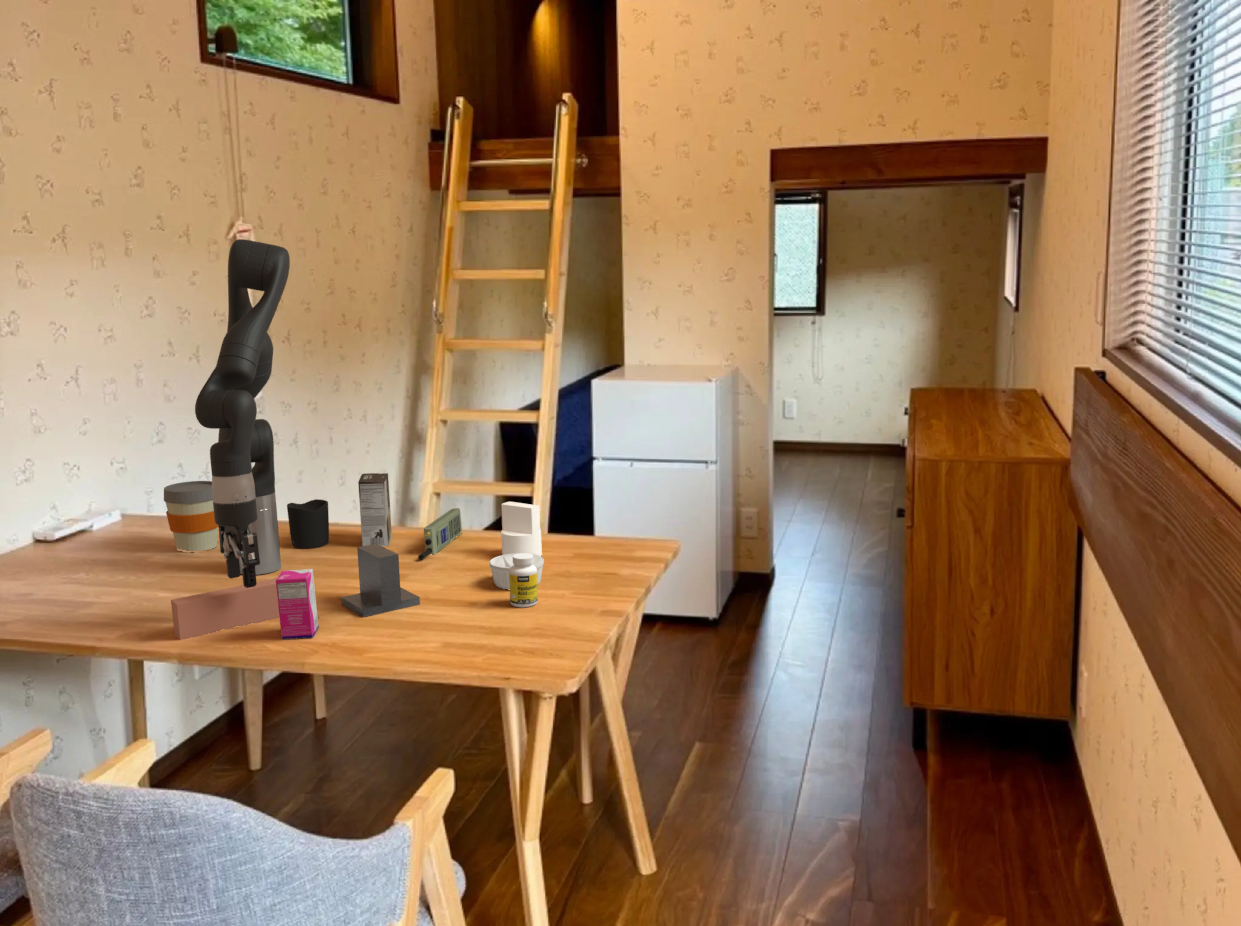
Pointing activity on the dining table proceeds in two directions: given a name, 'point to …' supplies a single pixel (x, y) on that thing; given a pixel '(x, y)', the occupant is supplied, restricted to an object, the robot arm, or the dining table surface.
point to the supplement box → (297, 604)
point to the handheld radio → (441, 532)
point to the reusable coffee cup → (191, 515)
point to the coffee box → (375, 509)
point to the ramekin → (502, 567)
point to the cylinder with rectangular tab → (521, 528)
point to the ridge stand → (378, 583)
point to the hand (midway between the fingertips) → (242, 582)
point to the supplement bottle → (523, 581)
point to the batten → (224, 609)
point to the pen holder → (309, 524)
